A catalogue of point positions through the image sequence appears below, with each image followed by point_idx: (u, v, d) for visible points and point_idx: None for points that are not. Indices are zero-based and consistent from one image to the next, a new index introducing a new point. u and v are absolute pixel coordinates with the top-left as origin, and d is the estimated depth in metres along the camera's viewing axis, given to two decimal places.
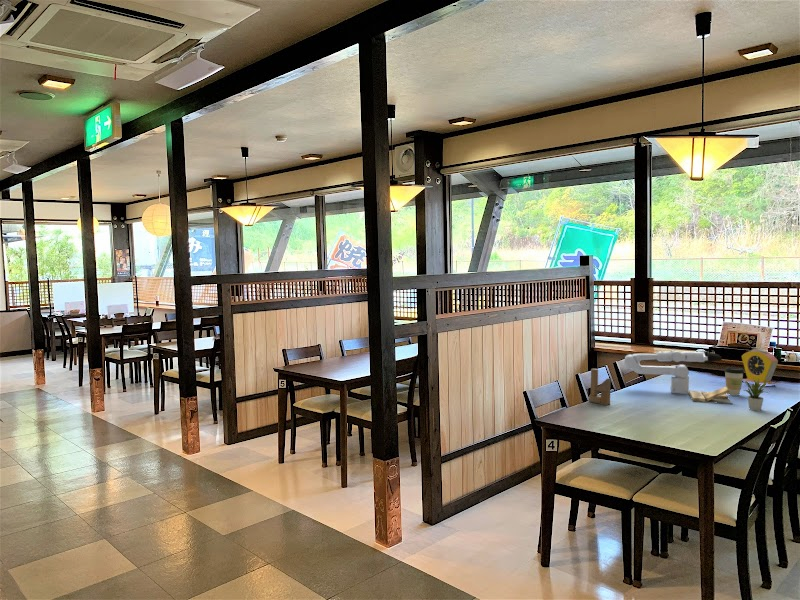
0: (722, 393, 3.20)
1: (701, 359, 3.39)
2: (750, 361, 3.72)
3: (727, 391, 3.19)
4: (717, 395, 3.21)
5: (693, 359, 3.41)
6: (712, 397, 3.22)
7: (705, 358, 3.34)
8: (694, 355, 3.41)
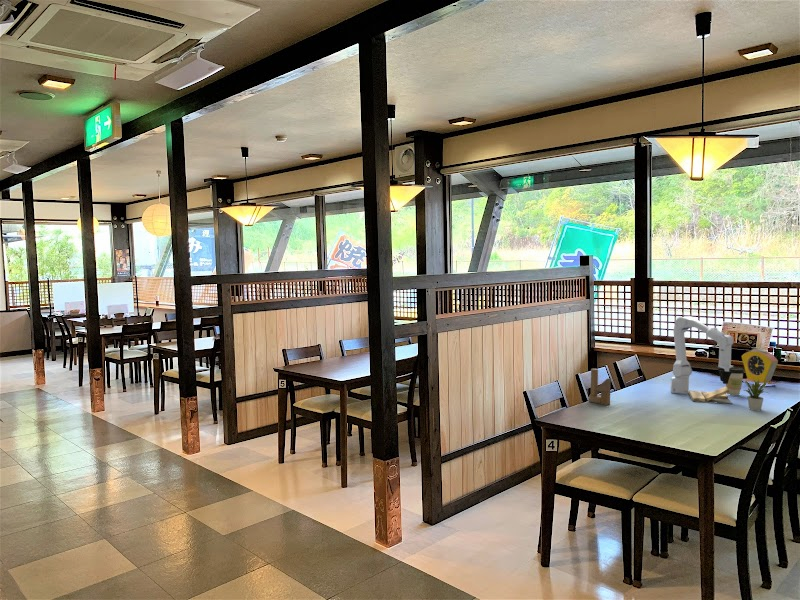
0: (722, 393, 3.20)
1: (723, 364, 3.21)
2: (750, 361, 3.72)
3: (727, 391, 3.19)
4: (717, 395, 3.21)
5: (719, 356, 3.23)
6: (712, 397, 3.22)
7: (727, 369, 3.16)
8: (727, 358, 3.20)
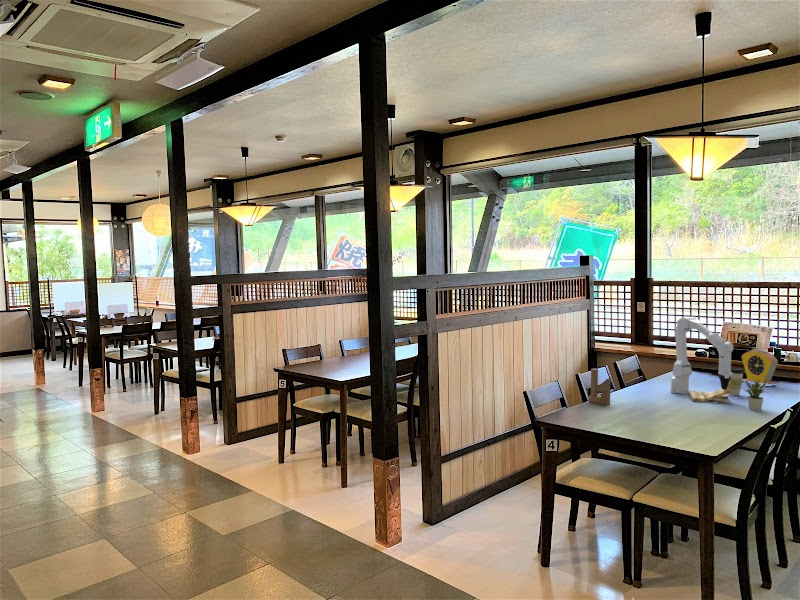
0: (722, 394, 3.20)
1: (723, 371, 3.21)
2: (750, 361, 3.72)
3: (727, 392, 3.19)
4: (717, 395, 3.21)
5: (719, 363, 3.23)
6: (712, 397, 3.22)
7: (727, 376, 3.17)
8: (727, 365, 3.20)
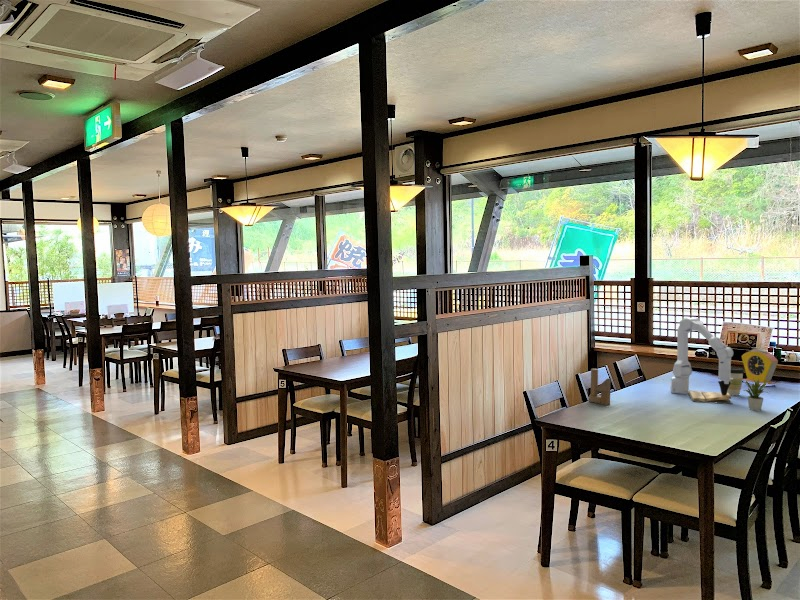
0: (723, 398, 3.20)
1: (722, 377, 3.21)
2: (750, 361, 3.72)
3: (729, 397, 3.19)
4: (718, 398, 3.21)
5: (719, 369, 3.23)
6: (712, 399, 3.22)
7: (726, 381, 3.17)
8: (727, 370, 3.20)
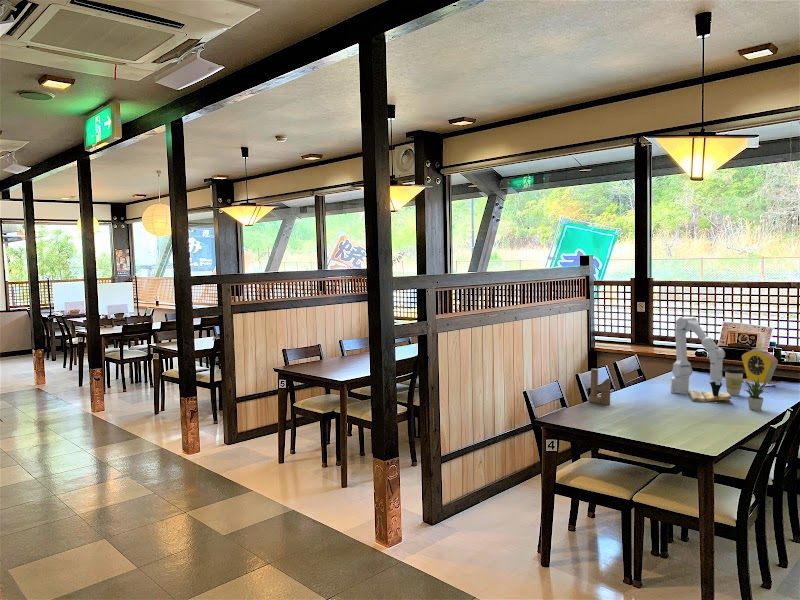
0: (723, 398, 3.20)
1: (714, 378, 3.23)
2: (750, 361, 3.72)
3: (729, 397, 3.19)
4: (718, 398, 3.21)
5: (710, 370, 3.25)
6: (712, 399, 3.22)
7: (718, 383, 3.18)
8: (719, 372, 3.22)
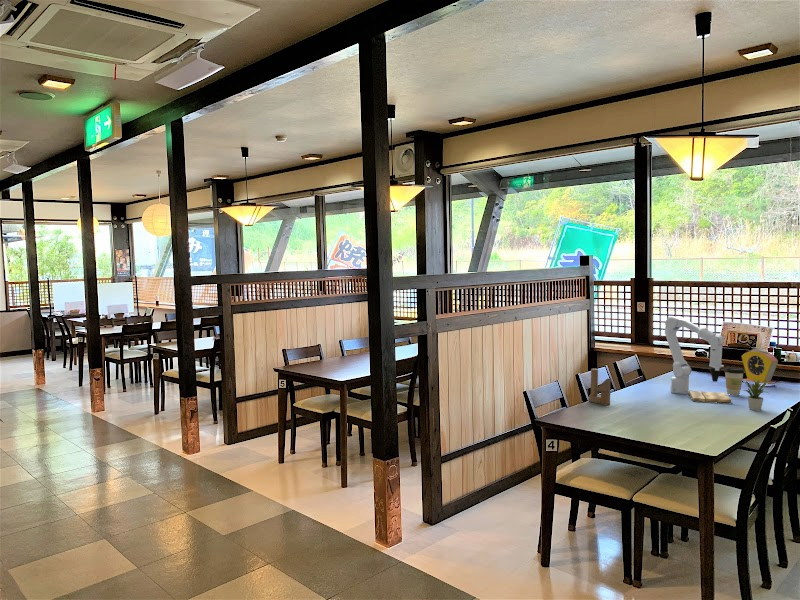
0: (723, 400, 3.20)
1: (713, 364, 3.28)
2: (750, 361, 3.72)
3: (729, 400, 3.19)
4: (718, 400, 3.21)
5: (711, 356, 3.29)
6: (712, 400, 3.22)
7: (717, 368, 3.24)
8: (718, 358, 3.27)
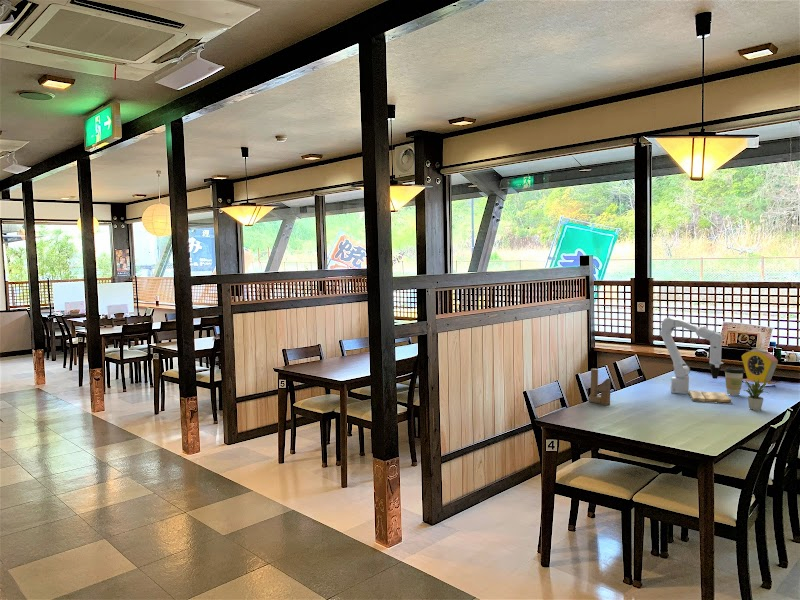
0: (723, 400, 3.20)
1: (713, 361, 3.32)
2: (750, 361, 3.72)
3: (729, 400, 3.19)
4: (718, 400, 3.21)
5: (712, 353, 3.33)
6: (712, 400, 3.22)
7: (717, 365, 3.27)
8: (718, 355, 3.31)
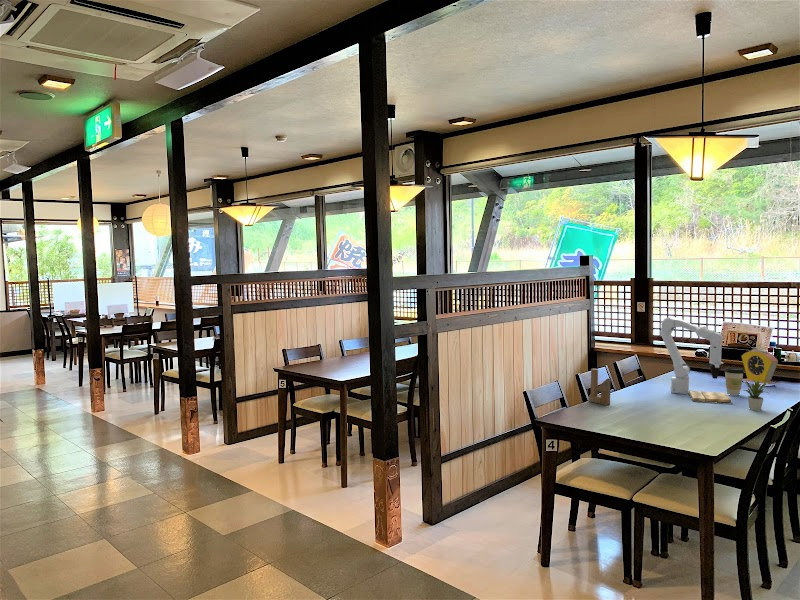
0: (723, 400, 3.20)
1: (713, 361, 3.32)
2: (750, 361, 3.72)
3: (729, 400, 3.19)
4: (718, 400, 3.21)
5: (712, 353, 3.33)
6: (712, 400, 3.22)
7: (717, 365, 3.27)
8: (718, 355, 3.31)
